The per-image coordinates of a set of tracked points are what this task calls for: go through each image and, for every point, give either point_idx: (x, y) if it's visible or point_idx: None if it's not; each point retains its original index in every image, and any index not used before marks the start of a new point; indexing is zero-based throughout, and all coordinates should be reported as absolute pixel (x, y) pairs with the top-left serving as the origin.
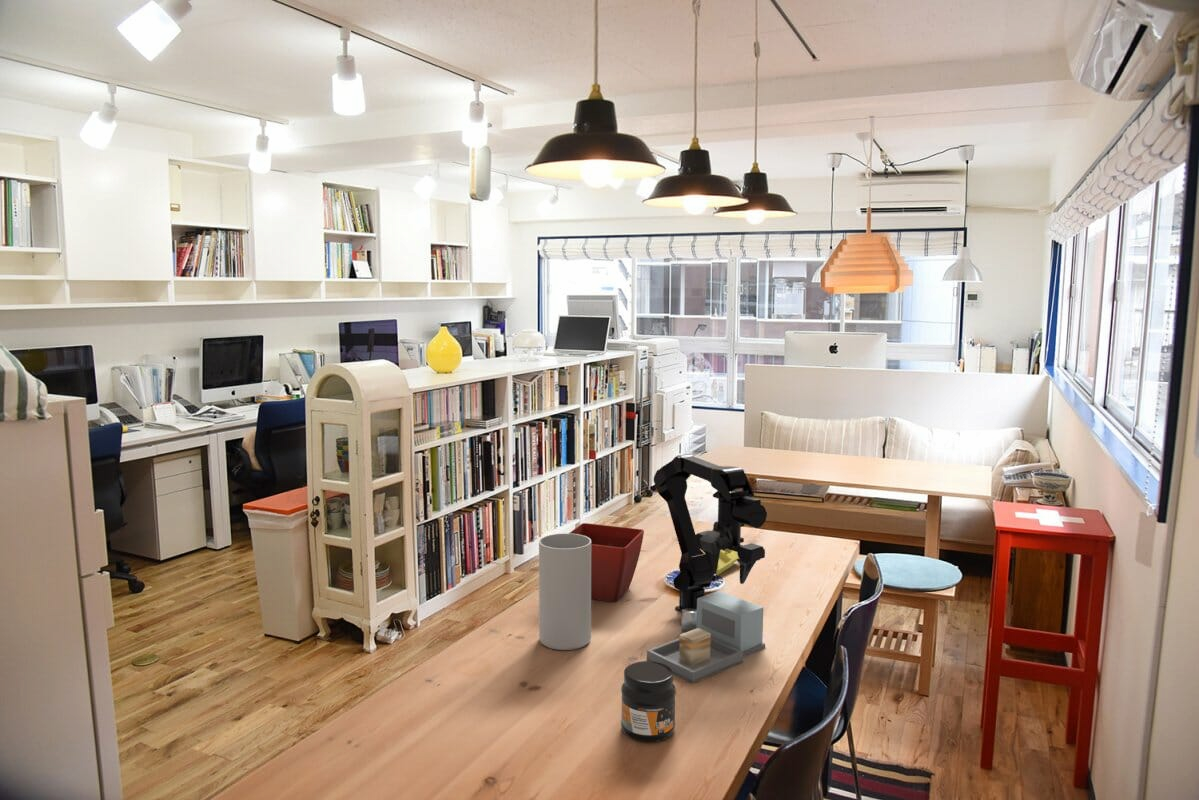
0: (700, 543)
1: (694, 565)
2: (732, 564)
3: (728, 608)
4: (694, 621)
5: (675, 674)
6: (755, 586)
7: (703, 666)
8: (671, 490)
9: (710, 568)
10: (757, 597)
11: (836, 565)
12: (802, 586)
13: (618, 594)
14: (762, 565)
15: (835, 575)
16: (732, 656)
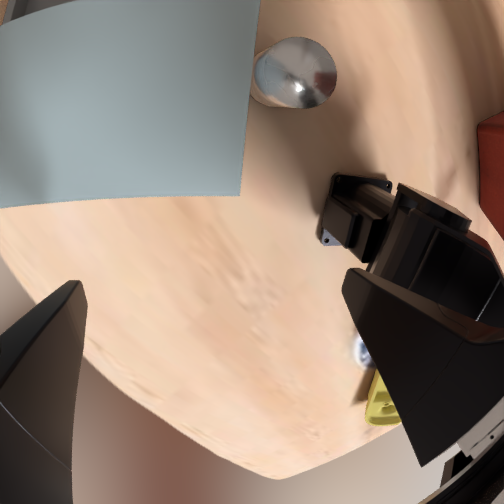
0: None
1: (460, 260)
2: (368, 397)
3: (18, 37)
4: (259, 59)
5: None
6: (302, 390)
7: None
8: None
9: (388, 281)
10: (269, 371)
11: (252, 465)
12: (239, 431)
13: (488, 130)
14: (331, 422)
15: (231, 459)
16: (8, 2)
